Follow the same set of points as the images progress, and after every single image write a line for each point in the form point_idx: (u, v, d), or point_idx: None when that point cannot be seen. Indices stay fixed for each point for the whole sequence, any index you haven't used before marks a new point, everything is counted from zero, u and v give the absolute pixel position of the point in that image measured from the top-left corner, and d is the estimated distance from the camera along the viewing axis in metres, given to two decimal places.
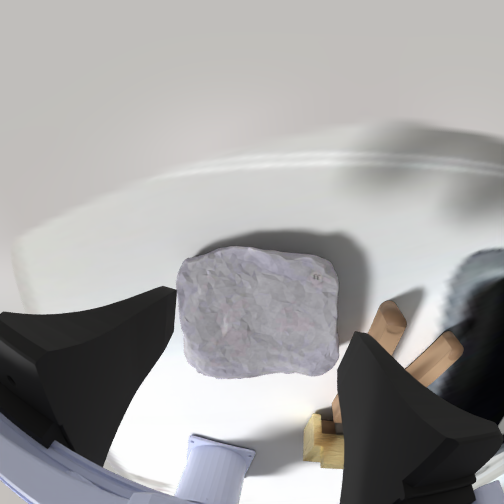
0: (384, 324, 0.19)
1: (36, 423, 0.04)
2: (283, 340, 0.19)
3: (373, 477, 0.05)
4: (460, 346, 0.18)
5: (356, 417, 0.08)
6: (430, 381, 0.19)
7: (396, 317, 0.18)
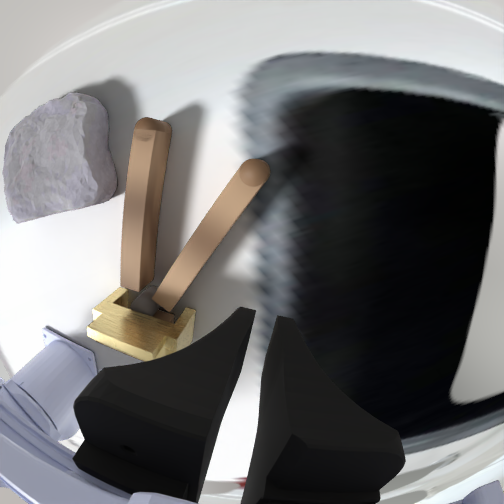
0: None
1: (166, 489, 0.04)
2: (52, 169, 0.17)
3: (257, 469, 0.05)
4: (257, 161, 0.16)
5: (265, 404, 0.08)
6: (226, 223, 0.17)
7: (142, 119, 0.16)
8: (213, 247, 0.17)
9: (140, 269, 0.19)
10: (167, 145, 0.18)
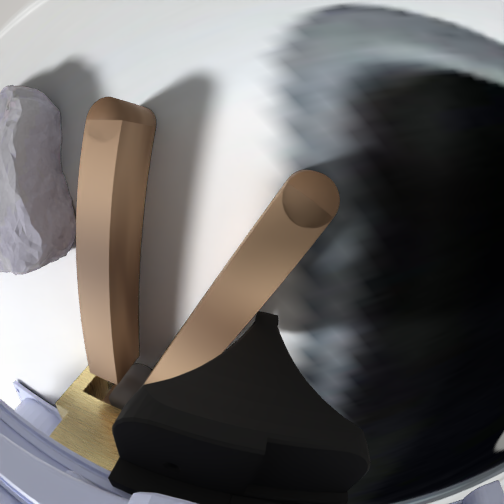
0: None
1: (210, 502, 0.04)
2: None
3: None
4: (319, 176, 0.08)
5: None
6: (256, 297, 0.09)
7: (100, 101, 0.08)
8: (232, 336, 0.09)
9: (114, 357, 0.11)
10: (147, 147, 0.10)
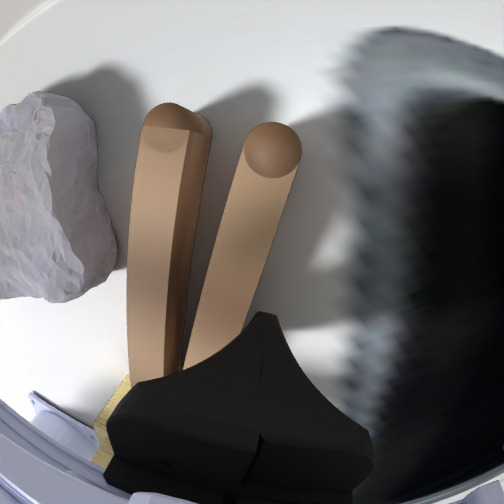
0: None
1: (204, 500, 0.04)
2: (8, 228, 0.09)
3: None
4: (272, 126, 0.07)
5: None
6: (254, 264, 0.09)
7: (160, 106, 0.08)
8: (244, 313, 0.09)
9: (163, 376, 0.11)
10: (204, 159, 0.10)
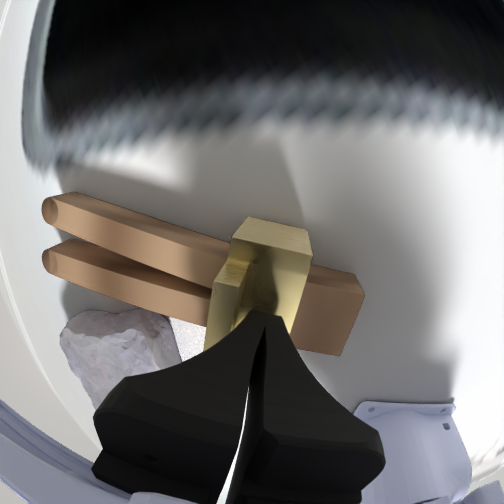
0: None
1: (189, 496, 0.04)
2: None
3: (239, 466, 0.05)
4: (42, 211, 0.13)
5: (251, 401, 0.08)
6: (90, 217, 0.13)
7: (43, 264, 0.15)
8: (115, 223, 0.13)
9: (183, 292, 0.14)
10: (78, 243, 0.16)
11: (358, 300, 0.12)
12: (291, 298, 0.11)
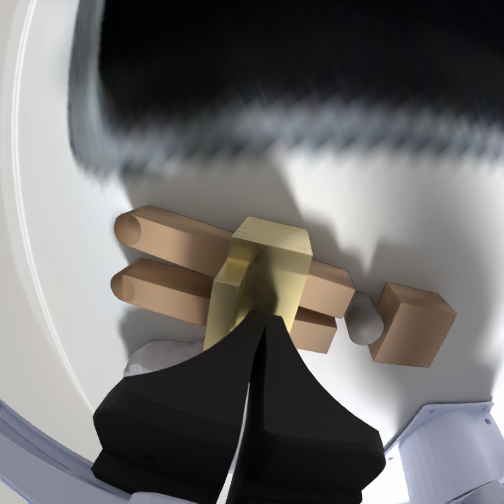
0: None
1: (189, 496, 0.04)
2: None
3: (239, 466, 0.05)
4: (116, 229, 0.13)
5: (251, 401, 0.08)
6: (191, 241, 0.13)
7: (113, 289, 0.14)
8: (228, 249, 0.13)
9: (301, 320, 0.13)
10: (154, 264, 0.16)
11: (451, 319, 0.12)
12: (291, 298, 0.11)
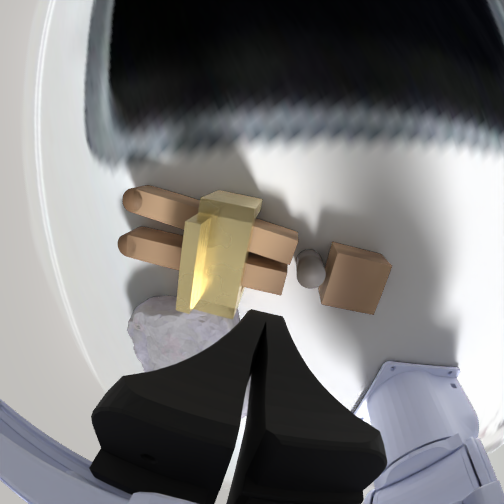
0: None
1: (187, 496, 0.04)
2: None
3: (240, 466, 0.05)
4: (123, 200, 0.18)
5: (252, 401, 0.08)
6: (177, 206, 0.17)
7: (119, 247, 0.19)
8: None
9: (258, 266, 0.18)
10: (151, 230, 0.20)
11: (387, 270, 0.17)
12: (242, 240, 0.16)
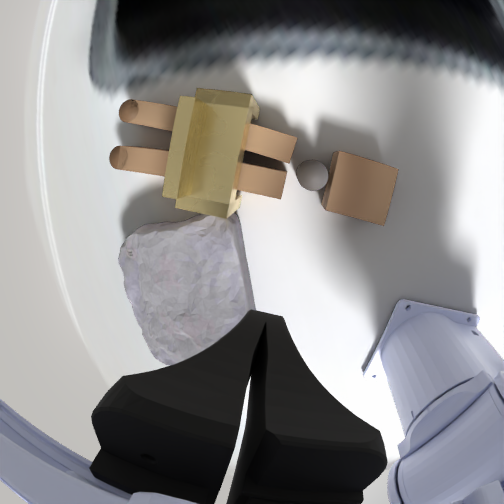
0: None
1: (187, 496, 0.04)
2: (190, 282, 0.18)
3: (241, 466, 0.05)
4: (120, 112, 0.16)
5: (252, 401, 0.08)
6: (173, 110, 0.16)
7: (110, 161, 0.17)
8: None
9: (255, 165, 0.16)
10: (145, 147, 0.19)
11: (394, 173, 0.15)
12: (238, 125, 0.14)
